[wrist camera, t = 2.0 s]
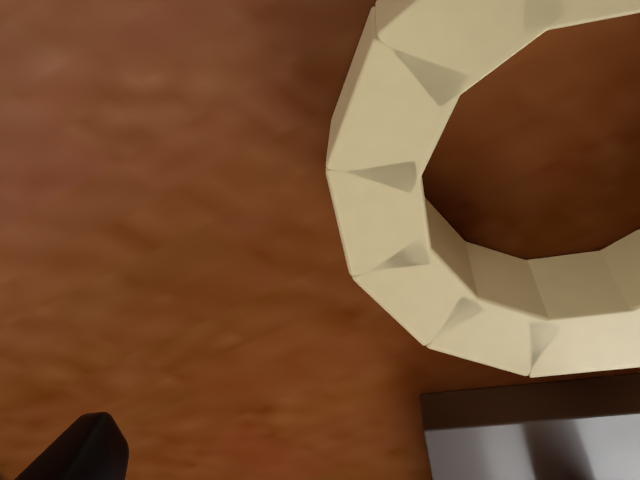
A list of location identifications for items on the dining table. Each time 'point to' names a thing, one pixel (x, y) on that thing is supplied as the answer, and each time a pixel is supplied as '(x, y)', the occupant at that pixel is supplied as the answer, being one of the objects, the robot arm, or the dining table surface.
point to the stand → (536, 431)
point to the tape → (433, 230)
